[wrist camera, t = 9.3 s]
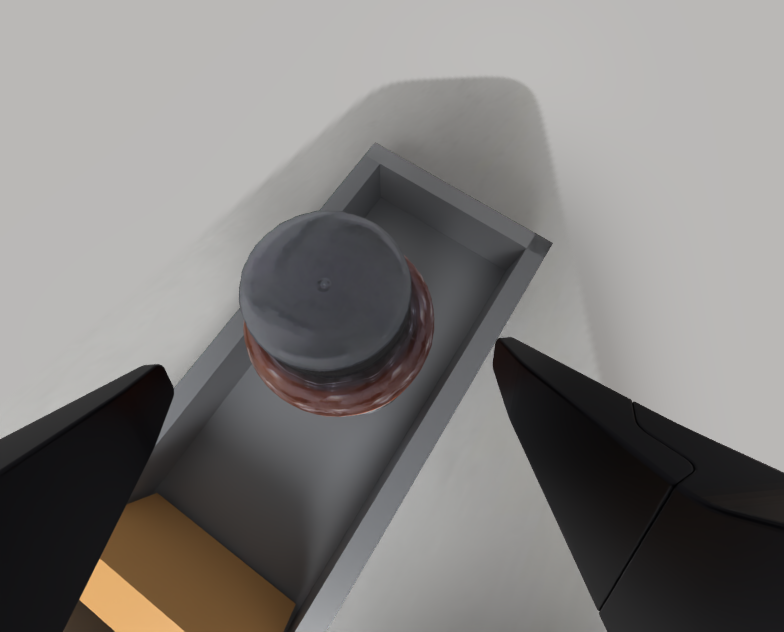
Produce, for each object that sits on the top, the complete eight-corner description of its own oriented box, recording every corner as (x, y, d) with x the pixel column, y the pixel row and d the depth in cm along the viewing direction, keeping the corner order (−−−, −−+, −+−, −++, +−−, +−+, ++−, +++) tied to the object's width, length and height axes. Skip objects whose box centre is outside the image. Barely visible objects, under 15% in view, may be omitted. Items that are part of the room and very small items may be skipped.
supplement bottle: (404, 422, 18) (440, 446, 7) (293, 405, 18) (149, 402, 7) (419, 314, 19) (466, 192, 8) (316, 299, 19) (230, 158, 8)
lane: (255, 723, 15) (177, 911, 9) (77, 567, 16) (-82, 652, 11) (523, 271, 21) (574, 222, 15) (376, 185, 22) (374, 111, 17)
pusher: (239, 695, 14) (168, 837, 10) (97, 571, 15) (-31, 644, 11) (295, 604, 15) (256, 693, 11) (157, 492, 16) (64, 528, 12)
